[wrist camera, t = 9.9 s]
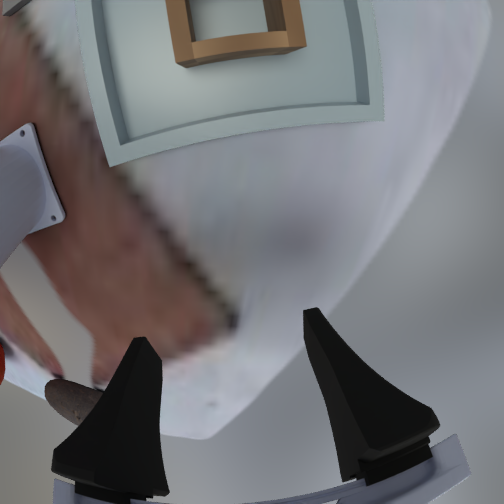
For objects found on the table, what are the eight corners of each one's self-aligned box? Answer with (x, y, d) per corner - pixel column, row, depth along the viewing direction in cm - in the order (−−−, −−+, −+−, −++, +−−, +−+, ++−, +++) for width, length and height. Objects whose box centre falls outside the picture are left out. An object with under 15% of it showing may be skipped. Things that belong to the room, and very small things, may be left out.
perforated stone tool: (48, 376, 30) (38, 414, 24) (50, 363, 28) (38, 405, 22) (133, 410, 36) (130, 447, 31) (143, 401, 34) (140, 442, 29)
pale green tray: (122, 155, 15) (109, 167, 13) (89, -24, 7) (73, -34, 5) (365, 114, 16) (384, 121, 14) (335, -59, 7) (350, -72, 5)
